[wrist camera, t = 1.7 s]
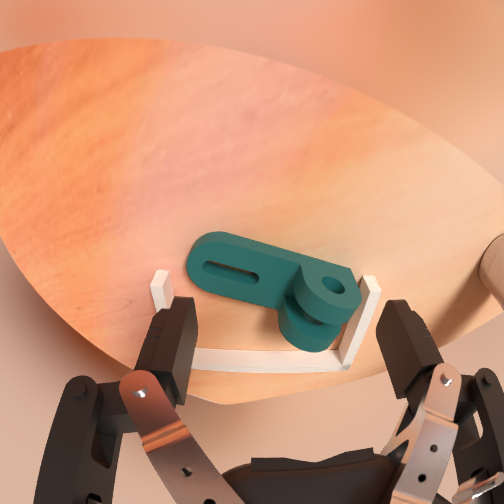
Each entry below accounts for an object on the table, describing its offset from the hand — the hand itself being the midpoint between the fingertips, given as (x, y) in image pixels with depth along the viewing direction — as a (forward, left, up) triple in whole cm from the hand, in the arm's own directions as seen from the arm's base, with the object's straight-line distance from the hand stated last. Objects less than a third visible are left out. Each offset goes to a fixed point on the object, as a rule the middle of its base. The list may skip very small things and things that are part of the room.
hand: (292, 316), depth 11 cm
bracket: (0, +11, -18) cm, 21 cm away
